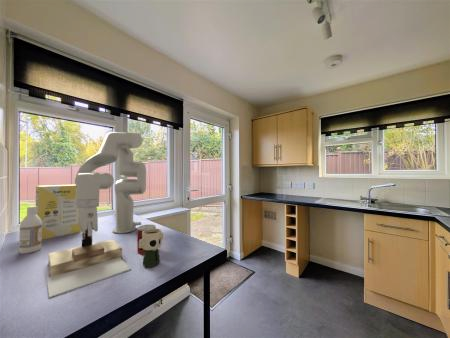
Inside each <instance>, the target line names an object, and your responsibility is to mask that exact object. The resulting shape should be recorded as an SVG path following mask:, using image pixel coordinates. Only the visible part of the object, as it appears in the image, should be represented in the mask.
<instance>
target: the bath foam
mask: <svg viewBox="0 0 450 338" xmlns="http://www.w3.org/2000/svg"><path fill="white" fill-rule="evenodd" d="M18 239H19V241H18V243H19V246H18V247H19V248H18V253H19V254H23V255H24V254H30V253H35V252H37V251H40V250H41V249H42V242H43V239H42V221H41V219H40V218H39V216H38V215H37V214H36V205H31V206H27V207H26V215H25V217H24V218H23V219H22V220H21V222H20V225H19V238H18Z"/></svg>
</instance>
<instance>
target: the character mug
mask: <svg viewBox="0 0 450 338" xmlns="http://www.w3.org/2000/svg"><path fill="white" fill-rule="evenodd" d="M163 241H164V232H163V231H162V229H160V228H156V229H147V230H144V231H143V232H142V239H140V240H139V248H142V249H144V250H145V252H144V254H143V258H142V266H144V267H146V268H153V267H155V266H156V265H159V264H161V258H160V252H159V248H161V246H162V242H163Z"/></svg>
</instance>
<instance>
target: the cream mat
mask: <svg viewBox="0 0 450 338" xmlns="http://www.w3.org/2000/svg"><path fill="white" fill-rule="evenodd" d="M131 270H132V268H131V267H130V266H129V265H128V264H127V263H126V262H125V260H123V258H122V257H119V258H115V259H112V260H109V261H105V262H102V263H98V264H95V265H91V266H88V267H85V268H81V269H78V270H74V271H71V272H67V273H64V274H61V275H57V276H54V277H51V276H50V277H47V278H46V284H47V292H48V293H49V294H48V299H51V298H54V297H57V296H59V295H63V294H66V293H68V292H72V291H75V290H77V289H79V288H83V287H85V286H89V285H92V284H94V283H96V282H99V281H103V280H106V279H108V278H111V277H114V276H117V275H120V274H123V273H125V272H129V271H131ZM65 292H66V293H65ZM53 296H54V297H53Z"/></svg>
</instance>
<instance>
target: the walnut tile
mask: <svg viewBox="0 0 450 338" xmlns="http://www.w3.org/2000/svg"><path fill="white" fill-rule="evenodd" d="M103 254H104V247H103V246H102V245H101V244H100V243H99V244H94V245H90V246H85V247H81V248H76V249H72V257H73V259H74V262H77V261H81V260H84V259H88V258H92V257H96V256H100V255H103Z"/></svg>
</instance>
